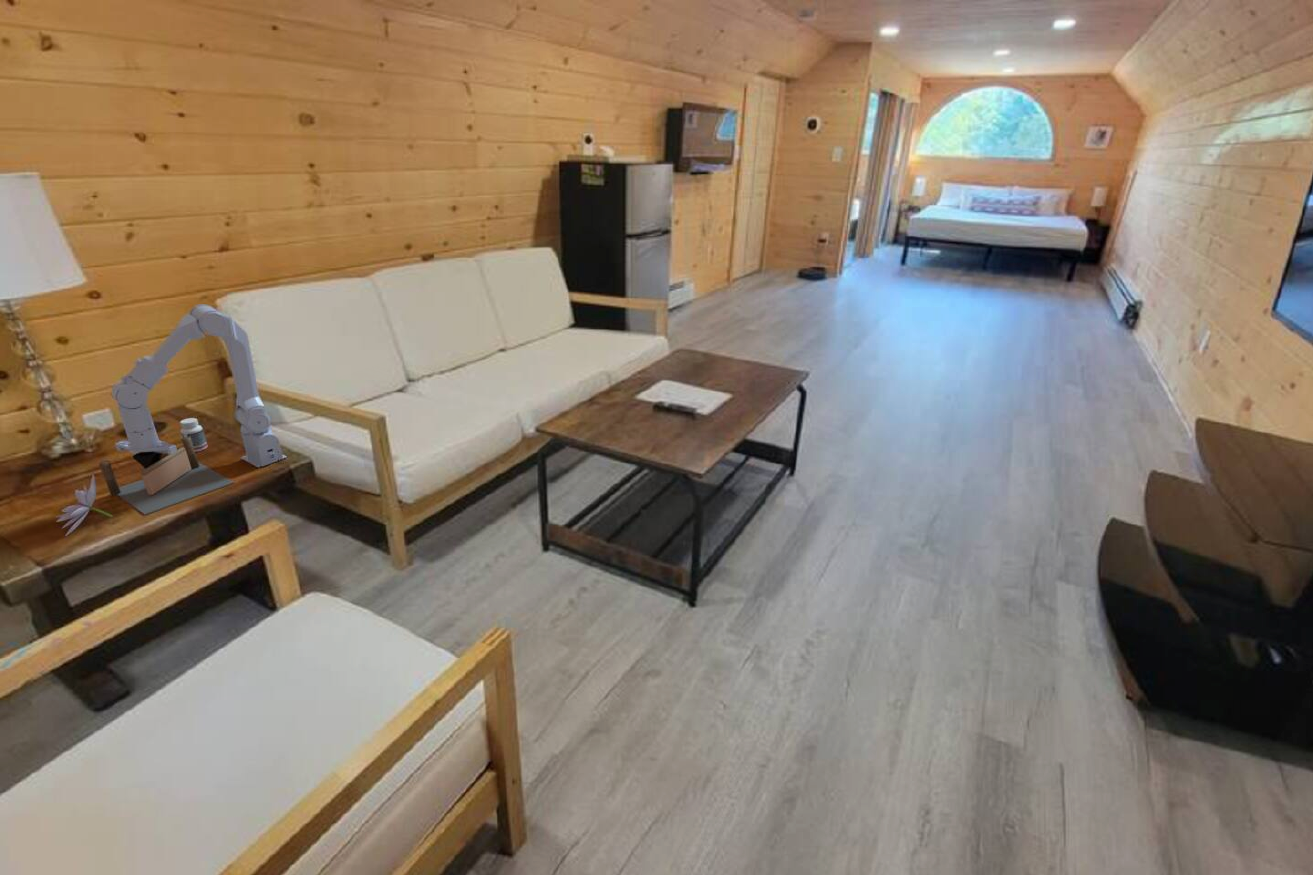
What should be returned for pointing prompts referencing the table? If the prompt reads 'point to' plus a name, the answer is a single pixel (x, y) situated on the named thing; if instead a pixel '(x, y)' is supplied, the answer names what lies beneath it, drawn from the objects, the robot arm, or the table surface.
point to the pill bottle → (194, 433)
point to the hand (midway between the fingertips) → (156, 476)
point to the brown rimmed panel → (165, 471)
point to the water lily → (81, 507)
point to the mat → (173, 490)
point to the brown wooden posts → (111, 478)
